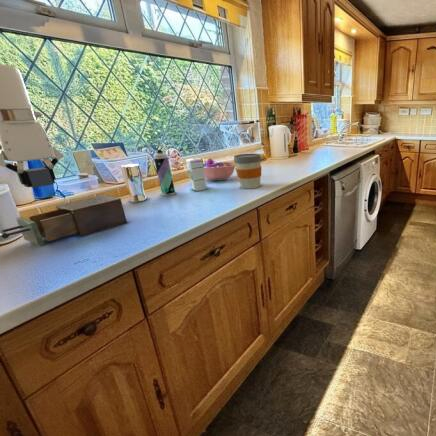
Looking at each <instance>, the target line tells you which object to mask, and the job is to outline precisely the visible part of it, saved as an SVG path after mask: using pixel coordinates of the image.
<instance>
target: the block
mask: <svg viewBox="0 0 436 436" xmlns="http://www.w3.org/2000/svg"><path fill="white" fill-rule="evenodd" d="M24 171H25V173H27V175H28V177H29V180H30V183H31V187H30V188H33V189H34V188H40V187H46V186H51V185H54V183H53V181H52V178H51V175H50V172H49V169H47V168H44V167H37V168H36V167H35V168H28V169H24Z"/></svg>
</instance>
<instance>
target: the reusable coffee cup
mask: <svg viewBox="0 0 436 436" xmlns="http://www.w3.org/2000/svg"><path fill="white" fill-rule="evenodd" d="M261 161H262V156H261V154H260V153H241V154H235V155H234V156H233V164H235V172H236V176H237V178H238V179H239V183H240V188H241V189H244V190H251V189H257V188H260V187H261V177H262V165H261V163H262V162H261Z"/></svg>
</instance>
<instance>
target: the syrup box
mask: <svg viewBox="0 0 436 436" xmlns="http://www.w3.org/2000/svg"><path fill="white" fill-rule="evenodd" d="M185 162H186V168H187V173H188V177H189V182H190V187H191V190H193V191H195V192H199V191H204V190H208V183H207V179H206V178H205V173H204V168H203V164H204V163H203V159H202V158H198V157H191V158H187V159H185Z"/></svg>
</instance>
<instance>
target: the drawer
mask: <svg viewBox="0 0 436 436" xmlns="http://www.w3.org/2000/svg"><path fill="white" fill-rule="evenodd" d="M15 219H16V223H17V226H12V227H9V228H4V229H0V238H2V239H8V238H9V237H10V236H14V235H18V234H22V237H23V240H25V241H26V242H29V243H31V244H34V245H36V246H38V247H41V246H45V241H47V242H52V241H55V240H58V239H62V238H65V237H68V236H72V235H75V233H78V232H79V231H78V228H77V225H76V222H75V219H74V216H73V213H72V212H69V211H66V210H62V209H58V210H57V209H54V210H49V211H46V212H42V213H36V214H32V215H28V218H25V217H23V216H19V217H15ZM18 229H19V230H18ZM15 230H16V231H15ZM44 240H45V241H44Z"/></svg>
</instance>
